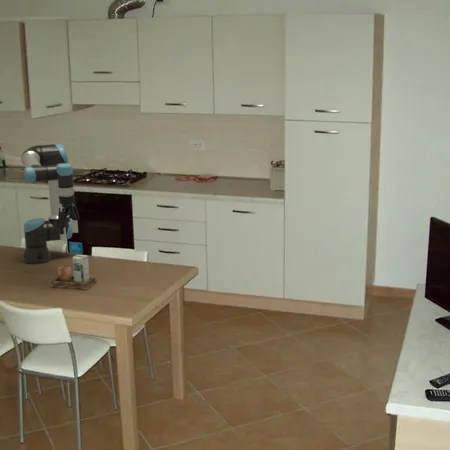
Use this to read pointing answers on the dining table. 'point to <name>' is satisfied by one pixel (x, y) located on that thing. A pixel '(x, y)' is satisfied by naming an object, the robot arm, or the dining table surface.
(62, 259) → the dining table surface
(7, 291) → the dining table surface
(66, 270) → the caddy
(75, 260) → the syrup box
